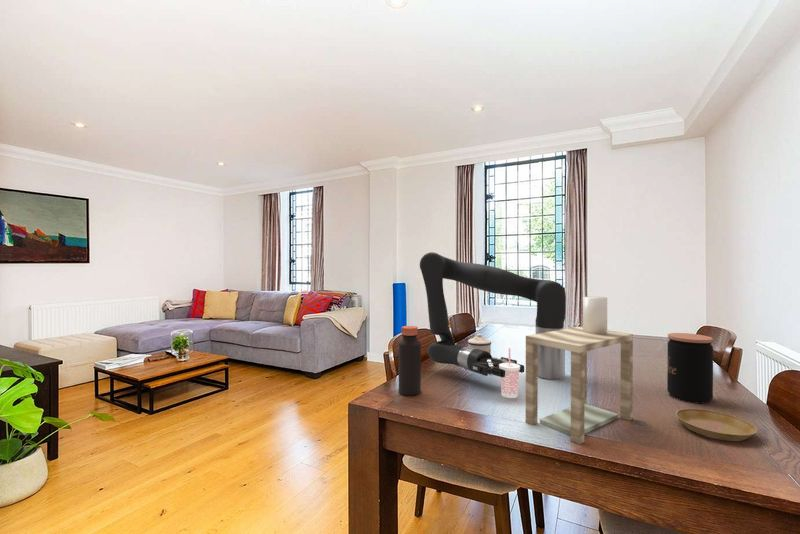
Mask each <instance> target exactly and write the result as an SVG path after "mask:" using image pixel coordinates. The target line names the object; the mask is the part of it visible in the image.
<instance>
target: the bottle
mask: <svg viewBox="0 0 800 534" xmlns="http://www.w3.org/2000/svg"><path fill="white" fill-rule="evenodd" d="M418 331H419V329H418V327H417V326H415V325H404V326H401V337H402V339H401V340H400V341H399V342H398V393H399V394H400V393H401V394H400V395H402V394H403V396H407V395H409V396H408V397H410V396H411V397H412V395H413V396H417V395H420V393H421V392H422V390H421V389H422V387H421V386H422V383H421V382H422V379H421V378H422V377H421V376H422V375H421V374H422V370H421V369H422V367H421V366H422V364H421V361H422V360H421V358H422V357H421V356H422V353H421V350H422V349H421V348H422V347H421V342H420V341H419V340H418V339H417V337H418Z"/></svg>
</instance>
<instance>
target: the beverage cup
mask: <svg viewBox="0 0 800 534" xmlns="http://www.w3.org/2000/svg"><path fill="white" fill-rule="evenodd" d="M508 359H509V363H500V364H499V368H500V369H503V370H505V377H503V378H502V377H499V379H500V391H501V393H500V394H501V396H502V397H503V398H508V399H514V398H515V399H516V398H517V397H518V396H519V395H518V393H519V378H520V372H519V370H520V365H518V364H519V363H517V364H515V363H510V359H511V348H508Z"/></svg>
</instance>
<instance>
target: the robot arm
mask: <svg viewBox="0 0 800 534" xmlns="http://www.w3.org/2000/svg"><path fill="white" fill-rule="evenodd" d="M419 269H420V272H421V275H422V278H423V282H424V287H425V293H426V299H427V311H428V312H427V313H428V322H429V331H430V333H431V334H432V335H435V336H438V337H439V338H440V340H438V341H434V342H432V343H430V344H429V345H428V347H427V355H428V357H429V358H430V360H431V361H433V362H434V363H438V364H443V365H447V364H448V365H455V366H457V367H460V368H463V369H465V370H467V371H470V372H473V373H476V374H479V375H482V376H484V377H487V376H489V375H490V376H496V377H499V378H500V377H502V378H503V377H505V370H503V369H500V368H499V364H500V363H509V357H508V358H507V357H503V356H502V357H501V356H500V358H498V357H493V356H492V354H490V353H489V352H487V351H484V350H480V349H476V348H472V347H468V346H464V345H460V344H456V342H455V340H454V339H455V338H454V337H453V334H452V332H451V330H450V329H451V328H450V325H449V324H450V323H449V313H448V308H447V303H446V298H445V293H444V283H443V282H444V280H445V279H446V280H451V281H455V282H458V283H461V284H464V285H466V286H468V287H469V288H470V287H471V288H474V289H477V290H479V291H484V292H488V293H492V294H498V295H503V296H504V295H506V296H515V297H520V298H524V299H526V300H531V301H532V302H535V303H536V316H535V317H536V318H535V334H539V333H545V332H551V331H557V330H563V329H565V322H566V321H565V320H566V312H567V311H566V309H567V307H566V305H567V298H566V297H567V296H566V295H567V294H566V289H565V288H564V286H563V285H562V284H561V283H559V282H557V281H554V280H550V279H549V280H548V279H539V278H532V277H531V278H530V277H526V276H522V275H519V274H517V273H515V272H511V271H509V270H506V269H503V268H499V267H495V266H492V265H487V264H483V263H482V264H480V263H474V262H472V263H471V262H464V261H463V262H462V261H458V260H454V259H451V258H449V257H446V256H443V255H442V254H439V253H437V252H431V251H430V252H427V253H425V254H424V255H422V257H421V258H420V261H419ZM443 279H444V280H443ZM510 363H515V364H518V365H520V370H519V373H521V374H523V373H525V364H524V365H523V364H520V363H518V361H517V359H512V358H510ZM565 376H566V350H563V349H558V348H553V347H548V346H543V345H538V378H542V379H546V380H561V379H564V378H565Z"/></svg>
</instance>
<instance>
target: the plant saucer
mask: <svg viewBox="0 0 800 534" xmlns="http://www.w3.org/2000/svg"><path fill="white" fill-rule="evenodd" d="M675 416H676V417H677V419H679V421H680V422H681V423H682V424H683V426H685V427H686V428H687V429H688V430H690V431H691V430H692V431H691V432H693V431H694V433H695V432H696V434H698V435H701V436H703V437H706V438H710V439H715V440H718V439H719V441H724V440H726V442H741V441H744V440H746V439H749V438H750V437H753V436H754V435H755V434H757V432H758V428H757V427H756V426H755V425H754V424H752V423H751V422H749V421H747V420H746V419H743V418H740V417H737V416H735V415H732V414H728V413H726V412H720V411H716V410H710V409H705V408H683V409H682V408H681V409H678V410H676V412H675ZM691 420H693V422H694V421H695V423H696V422H698V423H699V424H700V423H701V424H702V423H703V424H704V425H705V426H706V424H707V423H708V422H709V423H710V422H712V423H713V422H718V423H721V424H723V425H726V426H727V427H726V426H725V427H726V428H725V427H724V429H723V428H722V430H721V429H720V432H715V431H711V430H707V429H705V428H704V427H705V426H704V427H703V428H704V429H703V428H700V427H697V426H694V425H692V424H689V423H687V422H689V421H691ZM712 423H711V424H712ZM696 424H697V423H696ZM701 424H700V425H701ZM703 424H702V425H703ZM721 424H720V425H721ZM702 425H701V426H702ZM721 426H722V425H721Z"/></svg>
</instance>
